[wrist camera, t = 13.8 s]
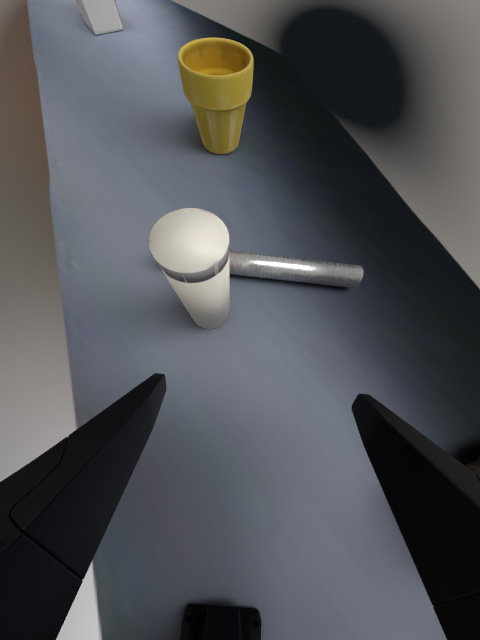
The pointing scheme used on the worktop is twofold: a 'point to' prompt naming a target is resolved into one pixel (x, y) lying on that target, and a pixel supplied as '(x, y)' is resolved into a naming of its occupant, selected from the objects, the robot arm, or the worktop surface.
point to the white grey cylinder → (195, 262)
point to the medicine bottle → (100, 15)
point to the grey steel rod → (294, 269)
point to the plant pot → (217, 89)
